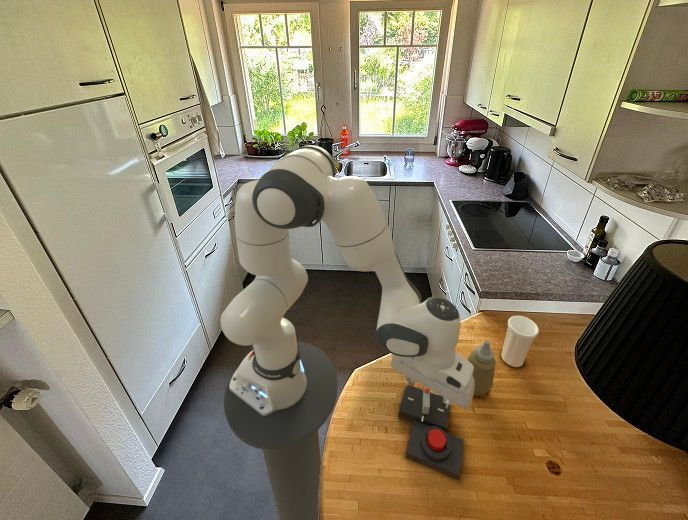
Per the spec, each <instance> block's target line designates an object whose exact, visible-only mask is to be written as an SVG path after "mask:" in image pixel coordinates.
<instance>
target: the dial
mask: <svg viewBox="0 0 688 520" xmlns="http://www.w3.org/2000/svg"><path fill="white" fill-rule="evenodd" d="M423 390H424V391H423V409H422V413H423V414H429V409H430V392H431V390H430V389H428V388H426V387H424V388H423Z"/></svg>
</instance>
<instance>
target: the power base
mask: <svg viewBox="0 0 688 520" xmlns="http://www.w3.org/2000/svg"><path fill="white" fill-rule="evenodd" d="M433 429H437V430H440V431H441V432H442V433H443V434H444V435H445V438H446V443H445V447H444V449H443V450H442V451H440V452H436V451H434V450H432V449H431V448H430V447H429V445H428V442H427V439H428V434H429V432H430V431H431V430H433ZM463 448H464V438H461V437H459V436H456V435H453V434H451V433H448V432H447V431H446V432H445V431H444V430H443V429H442V428H439V427H436V426H431V427H430V426H428V425H425V424H423V423H420V422H418V421H415V420H414V421H413V423H412V426H411V430H410V435H409V439H408V444H407V448H406V452H405V458H406V459H408V460H411V461H413V462H415V463H418V464H420V465H423V466H424V467H426V468H429V469H431V470H434V471H436V472H439V473H441V474H444V475H446V476H447V477H449V478H452V479H454V480H457V481H459V480H460V476H461V469H462V460H463V459H462V457H463V450H464V449H463Z"/></svg>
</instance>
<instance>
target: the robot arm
mask: <svg viewBox="0 0 688 520" xmlns="http://www.w3.org/2000/svg"><path fill="white" fill-rule="evenodd" d="M336 171H337V170H336V164H335V161H334V158H333V157H332V155H331V154H330V152H328V151H327V150H326V149H324V148H323V147H320V146H318V145H311V144H309V145H303V146H299V147H297V148H295V149H293V151H291V152H290V153H288V154H286V155H285V156H283V157H281V158H280V159H279V160H278V161H277V162H276V163H274V165H273V166H272V167H271V168H270V169H269V170H268V171H266V172H265V173H264V174H263V175H261V176H260V178H259V179H256V180H252V181H248V182H246V183H244V184H243V185H241V187H239V189H238V190H237V192H236V195H235V201H234V230H235V239H236V246H237V255H238V262H239V264H240V265H241V267H242V268H243V269H244V270H245V271H246V272H247V273H249V274H251V275H254V276H255V278H254V279H253V280H252V282H251V283H250V284H248V285H246V287H245V288H244V289H243V290H241V291H240V292H238V294H237V295H236V296H234V297H233V298H232V300H231V301H230V302H229V304H227V306H226V307H225V309H224V311H223V312H222V313H221V315H220V327H221V330H222V333H223V334H224V336H225V337H226V338H227V339H228V340H229V341H230V342H231V343H233V344H236V345H238V346H243V347H245V346H250V347H249V351H250V352H248V354H247V355H246V356H245V357H244V358H243V360H242V361H241V363H240V364H239V365H240V366H239V365H238V367H239V368H238V367H237V368H238V369H237V368H236V369H237V370H236V369H235V370H236V372H235V371H234V372H235V373H234V372H233V373H234V375H233V374H232V375H233V377H232V376H231V377H232V379H231V381H230V386H229V388H230V390H231V391H232V392H233V393H234V394H235V395H237V396H238V397H239V398H241V399H242V400H243V401H244V402H246V403H247V404H248V405H249V406H251V407H252V408H253V409H255V410H256V411H257V412H258V413H260V414H261V415H262V416H267V415H269V414H271V413H273V412H274V411H277V410H281V409H285V408H288V407H290V406H292V405H294V404H295V403H296V402H298V401H299V400H300V399H301V397H302V396H303V394H304V393H305V390H306V387H307V378H306V375H305V373H304V369H303V366H302V363H301V360H300V352H299V347H298V344H297V342H298V341H297V335H296V334H297V333H296V329H295V326H294V324H293V323H292V321H290V320H289V319H287V318H285V317H284V316H285V314H286V313H287V312H288V310H290V308H291V307H292V306H293V305H294V304H295V302H296V301H297V300H298V299H299V298H300V297H301V295H302V294H303V292H304V291H305V288H306V287H307V284H308V282H309V275H308V273H307V270H306V268H305V267H304V266H303V264H302V263H300V262H299V261H297V260H295V259H294V258H292V255H291V241H290V230H291V229H292V230H293V229H297V228H301V227H302V228H312V227H316V226H317V225H318V224H319V223H320V222H323V223H324V224H325V225H326V227H327V229H328V231H329V233H330V236H331V238H332V240H333V242H334V245H335V247H336V249H337V251H338V253H339V255H340V257H341V259H342V260H343V262H344V263H345V264H346V266H347V267H349V269H352V270H355V271H358V272H372V271H374V272H375V275H376V277H377V279H378V281H379V283H380V285H381V295H380V306H379V312H378V317H377V322H376V323H377V324H376V331H375V339H376V341H377V343H378V344H379V346H380V347H381V348H382V349H383V350H384V351H386V352H387V353H389V354H391V355H392V358H391V361H390V366H391V368H392V369H393V371H395V372H397V373H399V374H401V375H402V376H403V378H404V380H405V382H406V384H407V386H408V387H410V388H412V387H413V386H414V387H415V383H417V384H419V385H420V386H423V387H424V388H426V389H430V391H431V392H432V393H434V394H437V395H440V396H442V397H444V400H443V401H442V406H443V407H445V408H448V406H449V405H450V406H451V405H453V404H455V405H457V406H459V407H461V408H462V409H470V407H471V404H472V402H473V398H474V396H475V395H474V388H475V381H474V378H473V376H472V375H473V371H474V366H473V364H471V363H470V362H469V361H468V359H466V358H465V357H464V356H462V355H461V354H460V353H459V352H458V351H457V350H456V347H457V345H458V343H459V339H460V338H459V337H460V332H461V315H460V312H459V309H457V307H456V306H455V304H454V303H452V302H451V301H450V300H449V299H446V298H445V297H443V296H442V297H441V296H429V297H428V298H427V299H426V300H424V301H423V302H422V295H421V293H420V291H419V289H418V288H417V287H416V285H414V283H413V282H411V280H410V279H409V278H408V276H407V275H406V273H405V271H404V268H403V265H402V264H401V261H400V259H399V257H398V254H397V252H396V250H395V247H394V241H393V237H392V234H391V230H390V226H389V224H388V221H387V219H386V216H385V213H384V211H383V209H382V207H381V204H380V203H379V201H378V198H377V196H376V195H375V193H374V191H373V190H372V187H371V186H370V185H369V182H367V181H366V180H365V179H363V178H362V177H360V176H355V175H348V176H346V175H345V176H343V177H336ZM234 380H235V381H234ZM261 408H263V409H261Z"/></svg>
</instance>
